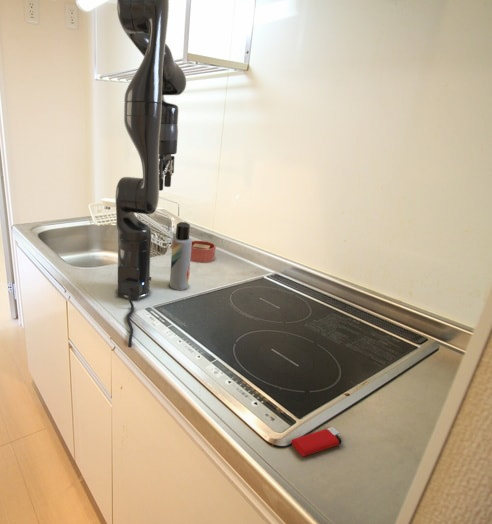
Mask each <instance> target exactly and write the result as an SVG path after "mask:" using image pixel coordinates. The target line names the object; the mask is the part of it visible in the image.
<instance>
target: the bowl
mask: <svg viewBox="0 0 492 524" xmlns="http://www.w3.org/2000/svg"><path fill="white" fill-rule="evenodd" d="M194 244H202V245H209V246H210V249H197V248H193V247H192V246H193V245H194ZM192 246H191V258H190V262H191V261H192V262H196V263H210V262H211V263H212V262H213V261H215V257H216V250H217V249H216V248H217V246H216V244H215V243H214V242H210V241H207V240H192Z"/></svg>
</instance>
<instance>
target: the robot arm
mask: <svg viewBox="0 0 492 524" xmlns="http://www.w3.org/2000/svg"><path fill="white" fill-rule="evenodd" d="M116 11H117V18H118V21H119V24H120V26H121V28H122V30H123V32H124V33H125V36H127V38H128V39H129V40H130V41H131V43H132V44H133V45H134V46H135V47H136V49H137V50H138V51H139V52H140V54H141V55H142V57H143V59H142V61H141V63H140V65H139V67H138V68H137V70H136V72H135V73H134V75H133V76H132V78H131V80H130V82H129V84H127V88H126V90H125V93H124V98H123V99H124V101H123V102H124V103H123V123H124V127H125V130H126V132H127V135H128V136H129V138H130V140H131V142H132V145H133V146H134V148H135V149H136V151H137V154H138V156H139V159H140V162H141V170H142V177H135V176H123V177H120V179H119V180H118V182H117V184H116V187H115V212H116V213H115V215H116V217H115V218H116V229H117V235H118V236H117V297H119V298H124V299H128V303H129V304H130V312H129V313H127V315H126V322H127V325H128V327H129V335H128V341H127V342H128V343H127V344H128V345H127V347H128V349H129V348H132V343H133V335H134V328H133V324H132V322H131V319H130V317H131V315H132V314H133V313H134V311H135V305H134V303H133V301H132V300H134V301H138V300H140V299H144V298H146V297H148V296H149V295H150V290H151V289H150V282H152V277H151V252H152V251H151V250H152V227H151V226H150V225H149V224H147V223H146V222H144V221H142V220H141V219H140V218H138V216H137V215H136V214H140V215H141V214H143V215H152V214H154V213H155V212H156V210H157V208H158V205H159V201H160V191H163V190H164V187H166V188H170V187H171V186H172V176H173V174H174V173H175V156H174V155H176V154H177V153H178V139H179V138H178V137H179V127H178V126H179V125H178V124H179V106H178V105H177V104H175V103H172V102H167V101H166V100H165V96H179V95H181V94H183V93H184V92H185V90H186V87H187V78H186V75H185V72H184V71H183V69H182V68H181V66H179V64H178V63H177V62H176V61H175V60H174V56H173V53H172V51H171V48H170V47H169V46H168V44H167V43H166V42H167V41H166V40H167V33H168V23H169V11H170V1H169V0H117V3H116Z"/></svg>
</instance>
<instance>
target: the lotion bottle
mask: <svg viewBox="0 0 492 524" xmlns="http://www.w3.org/2000/svg"><path fill="white" fill-rule="evenodd" d="M190 229H191V224H190V223H188V222H185V221H181V222H178V223H176V229H175V237H173V238H172V243H171V244H172V245H171V256H170V273H169V287H170V288H171V289H173V290H177V291H183V290H187V289H188V287H189V281H190V270H191V260H190V258H191V246H192V241H193V240H192V239H191V238H190Z"/></svg>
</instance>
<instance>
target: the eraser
mask: <svg viewBox="0 0 492 524" xmlns="http://www.w3.org/2000/svg"><path fill="white" fill-rule="evenodd" d="M192 247H193V248H197V249H210V246H209V245H202V244H194V245H193V246H192Z"/></svg>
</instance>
